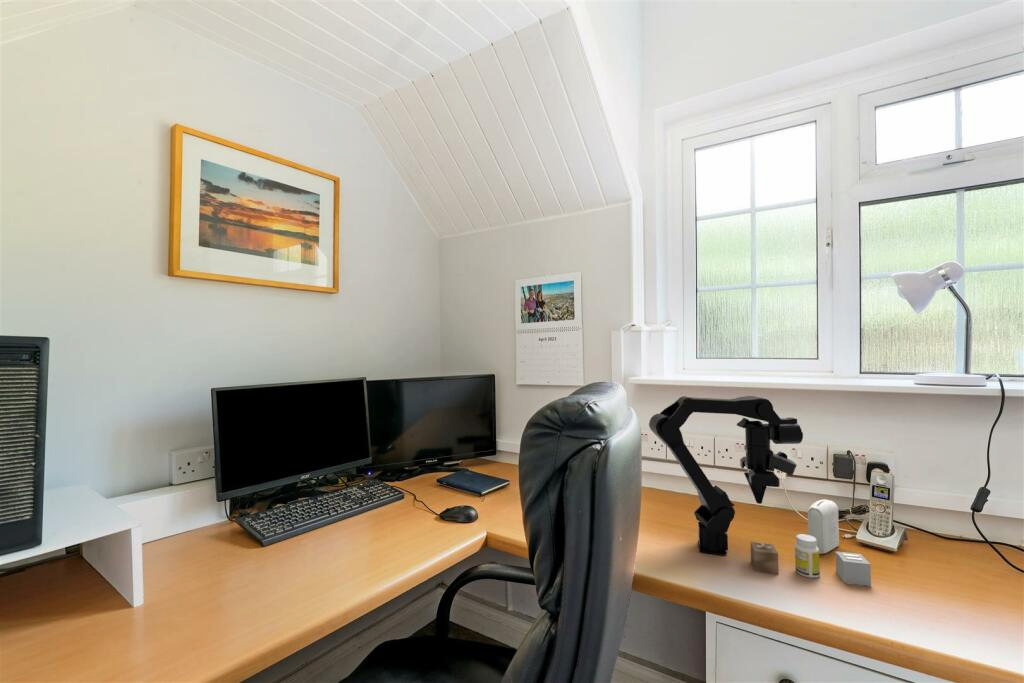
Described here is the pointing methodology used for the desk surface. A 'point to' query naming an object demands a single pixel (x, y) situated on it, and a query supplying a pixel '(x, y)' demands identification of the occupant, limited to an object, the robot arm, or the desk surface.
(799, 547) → the supplement bottle
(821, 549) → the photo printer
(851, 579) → the grey block
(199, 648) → the desk surface
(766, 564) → the walnut block
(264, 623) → the desk surface
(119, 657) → the desk surface
